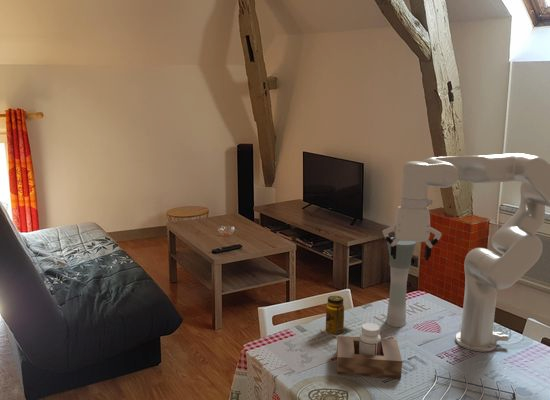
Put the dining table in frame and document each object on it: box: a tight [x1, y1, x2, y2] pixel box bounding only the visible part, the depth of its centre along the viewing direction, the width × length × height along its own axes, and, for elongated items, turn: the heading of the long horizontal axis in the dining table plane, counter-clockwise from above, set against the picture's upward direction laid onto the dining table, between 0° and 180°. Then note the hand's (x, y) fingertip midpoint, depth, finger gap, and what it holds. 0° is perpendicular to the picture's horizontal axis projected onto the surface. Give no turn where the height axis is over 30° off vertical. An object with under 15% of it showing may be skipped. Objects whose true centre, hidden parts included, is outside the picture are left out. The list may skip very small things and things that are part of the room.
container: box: [385, 236, 417, 328], centre depth 179 cm, size 10×10×30 cm
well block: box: [336, 335, 403, 380], centre depth 153 cm, size 18×13×6 cm
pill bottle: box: [359, 322, 382, 356], centre depth 152 cm, size 6×6×11 cm
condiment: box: [320, 295, 353, 338], centre depth 174 cm, size 7×8×12 cm
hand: (410, 258), depth 156 cm, fingers open, 9 cm apart
